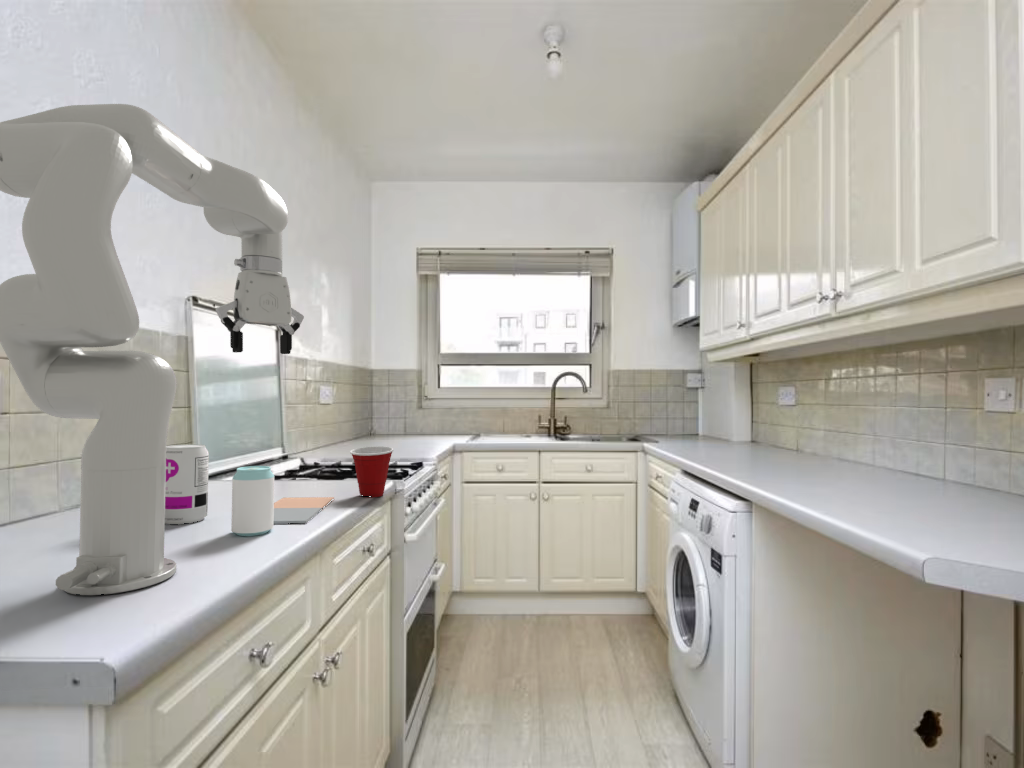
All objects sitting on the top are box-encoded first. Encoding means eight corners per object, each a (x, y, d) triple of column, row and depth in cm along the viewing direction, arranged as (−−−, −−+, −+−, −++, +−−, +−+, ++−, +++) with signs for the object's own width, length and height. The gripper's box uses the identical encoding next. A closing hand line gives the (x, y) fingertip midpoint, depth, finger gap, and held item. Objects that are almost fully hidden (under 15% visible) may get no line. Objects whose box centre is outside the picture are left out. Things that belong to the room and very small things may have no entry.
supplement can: (169, 527, 102) (171, 449, 102) (153, 521, 107) (154, 446, 107) (214, 519, 108) (216, 446, 109) (196, 513, 113) (198, 443, 114)
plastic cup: (340, 497, 132) (340, 449, 132) (364, 490, 142) (365, 445, 143) (378, 501, 129) (379, 451, 129) (400, 493, 139) (401, 447, 139)
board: (306, 523, 106) (306, 520, 106) (243, 524, 105) (243, 521, 105) (334, 499, 130) (334, 497, 130) (283, 500, 129) (283, 497, 129)
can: (271, 535, 97) (272, 469, 97) (228, 538, 95) (229, 471, 95) (274, 526, 104) (276, 464, 104) (234, 528, 101) (235, 465, 102)
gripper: (224, 259, 99) (224, 351, 100) (311, 272, 112) (311, 354, 113) (208, 264, 104) (209, 352, 104) (293, 276, 117) (293, 354, 118)
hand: (262, 353), depth 109 cm, fingers open, 9 cm apart
